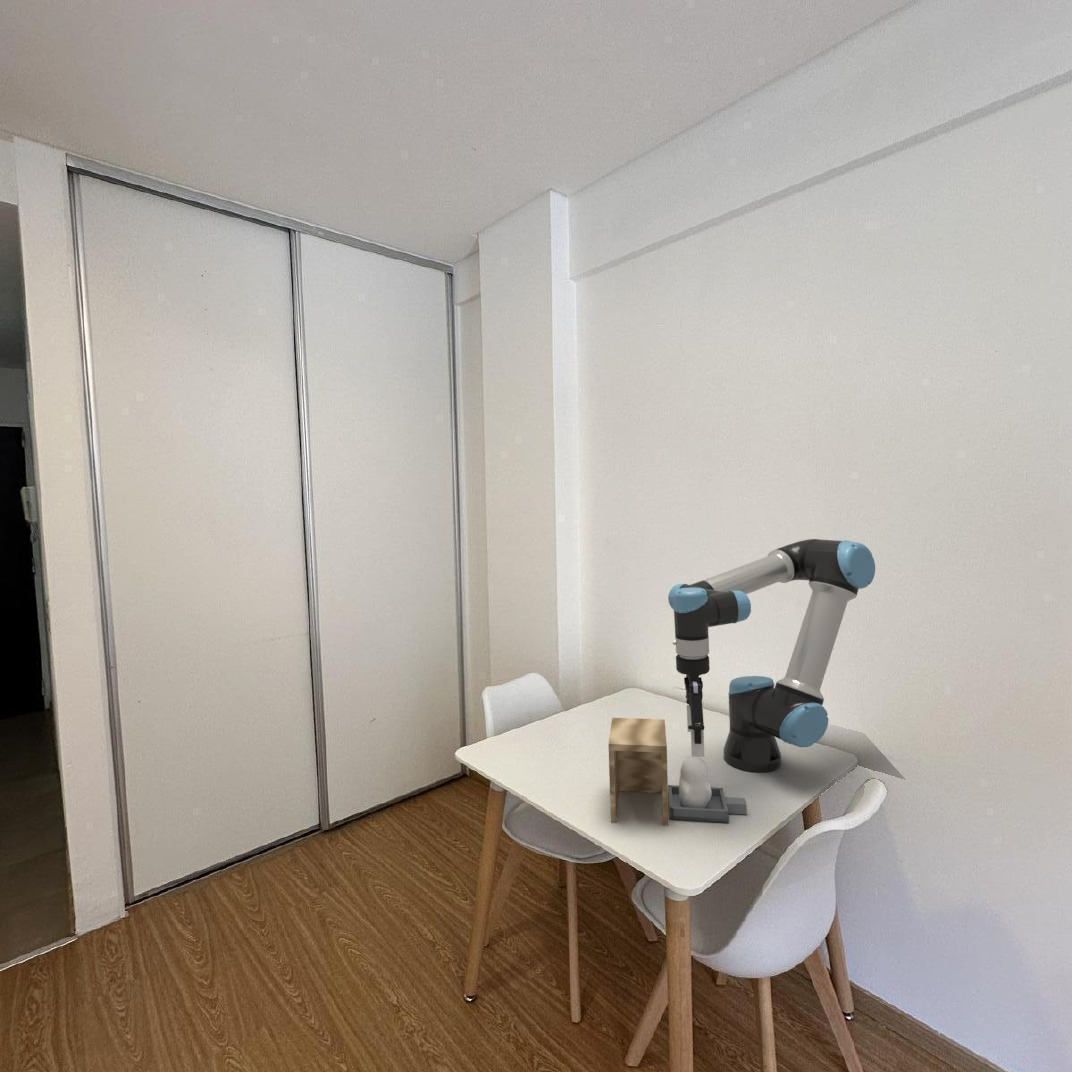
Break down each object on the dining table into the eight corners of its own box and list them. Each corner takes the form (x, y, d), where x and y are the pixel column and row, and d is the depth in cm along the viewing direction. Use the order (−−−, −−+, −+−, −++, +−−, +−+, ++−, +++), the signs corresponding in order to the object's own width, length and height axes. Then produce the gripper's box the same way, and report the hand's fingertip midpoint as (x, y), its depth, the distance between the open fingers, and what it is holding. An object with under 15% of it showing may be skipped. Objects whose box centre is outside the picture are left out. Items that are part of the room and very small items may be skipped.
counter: (666, 790, 150) (664, 719, 149) (668, 825, 134) (666, 746, 133) (614, 788, 152) (612, 717, 151) (610, 822, 137) (608, 743, 135)
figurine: (684, 814, 137) (683, 763, 136) (675, 797, 145) (674, 749, 144) (714, 812, 137) (713, 761, 137) (703, 795, 145) (703, 747, 144)
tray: (741, 799, 144) (741, 788, 144) (749, 824, 133) (749, 812, 133) (668, 795, 147) (667, 785, 147) (669, 819, 137) (669, 808, 137)
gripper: (673, 641, 151) (676, 722, 153) (678, 671, 127) (682, 767, 129) (703, 640, 150) (706, 722, 152) (715, 671, 126) (718, 768, 127)
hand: (695, 743), depth 140 cm, fingers open, 13 cm apart
